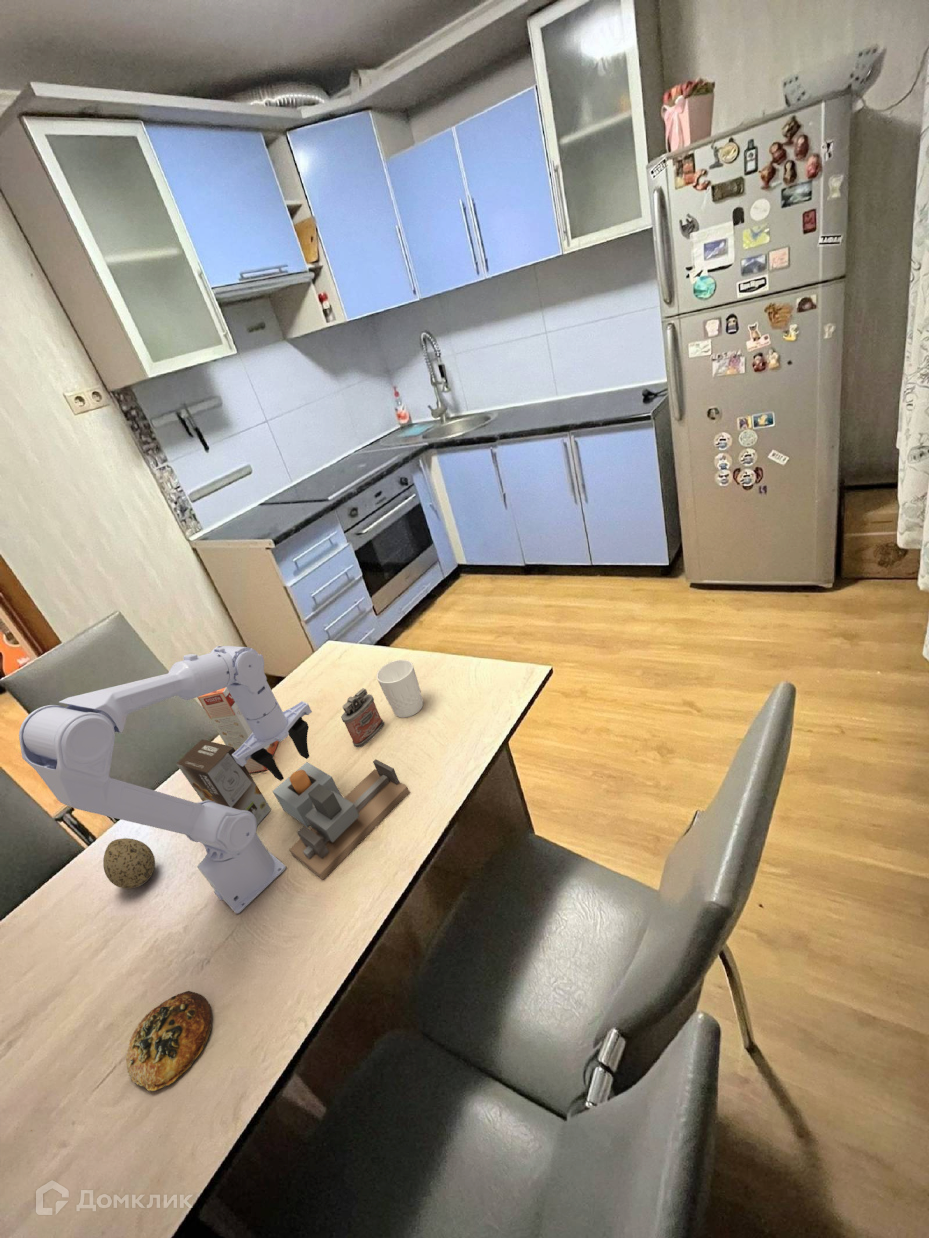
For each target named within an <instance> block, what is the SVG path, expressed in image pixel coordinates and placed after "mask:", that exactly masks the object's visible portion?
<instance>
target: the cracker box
mask: <svg viewBox="0 0 929 1238" xmlns="http://www.w3.org/2000/svg"><path fill="white" fill-rule="evenodd" d="M196 698H197V699H198V701H199V703H200V705H201V706H202V708H203V709H204V711H205V713H206V714H207V716H208V718H209V720H210V721H211V723H212V725H213V726H214V728H215V730H216V731H217V733H218V734H219V736H220V738H221V740H222V741H223V743H224V745H227V746H231V747H234V749H235V751H237V750H238V749H239V748H240V747H241V746H242V744H243V743H244V742H245V741H246V740H247V739H248V738H249V736H250V735H251V734H252V733H253V732H252V731H251V729H250V727H249V725H248V724H247V722H246V720H245V719H244V717H243V715H242V713H241V711H240V710H239V708H238V706H237V704H236V703H235V701H234V699H233V698H232V696H231V694H230V692H229V691H228V689H227V687H225V688H222V689H220V690H217V691H214V692H211V693H208V694H205V695H202V696H199V697H196ZM279 742H280V741H275V742H273V743H271V744H269V745H268V746H266V747H264V749H266V750H267V752H269V753H270V754H272V755H273V756H274V755H275V752H276V750H277V747H278V745H279ZM245 767H246V769H247V770H248V772H249V773H250V774H252V773H256V772H261V771H262V772H263V771H268V769H267V768H266V767H264V766H262V765H261V764H259V763H257V762H256V761H254V760H253V759H251V758H249V759H248V760H247V764H245Z"/></svg>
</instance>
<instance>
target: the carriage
mask: <svg viewBox="0 0 929 1238" xmlns="http://www.w3.org/2000/svg"><path fill="white" fill-rule="evenodd" d="M308 795H309V797H310V799H311V801H312V803H313V804H314V806H315V807H314V808H313V809H312V810H311V811H309V812H308V813H307V814H306V815H305V817H306V819H307V820H308V822H309V824H310V825H309V826H310V827H311V828H313V829H314V830H316V831H317V832H319V833H320V834H321V835H323V836H324V837H325V838H327V839H328V840H330V841H331V842H332V843H333V842H334V841H335V840H336V839H337V838H338V837H339V836H340V835H341V834H342V833H343V832H344V831H345V830H346V829H347V828H348V827H349V826H350V825H351V824H352V823H353V822H354V821H355V820H356V819H357V818H358V817H359V816H360V815H359V813H358V811H357V809H356V807H355V805H354V804H353V803H352V802H350V801H348V800H347V799H345V798H344V797H343V796H342V795H341V796H340V795H339V794H337V793H335V792H334V791H330V790H328V789H327V788H325V787H323V786H322V785H320V784H318V785H317V786H316V787H315V788H314V789H313V790H312V791H310V792H309V793H308Z"/></svg>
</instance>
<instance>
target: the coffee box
mask: <svg viewBox="0 0 929 1238" xmlns="http://www.w3.org/2000/svg"><path fill="white" fill-rule="evenodd" d="M234 752H235V749H234V747H231V746H227V745H225V744H223V743H219V742H214V741H210V740H206V739H201V740H200V741H199V742H198V743H196V744H195V745H194V746H193V747H191V749H189V750H188V751H187V752H186V753H185V754H184V756H182V758H180V759H179V760H178V761H177V762H176V766H177V767H178V769H179V770H180V771H181V773H182V774H183V776H184V777H185V778H186V780H187V782H188V783H189V784H190V786H191V787H192V788H193V790H194V791H195V792H196V794H197V796H198V797H199V798H200V800H201V802H202V801H206V800H210V801H213V802H215V803H217V804H220V805H224V806H228V807H231V808H235V809H238V810H245V811H249V812H251V813H252V814H253V815H254V816H255V818H256V822H257V826H258V825H260V823H261V822H262V821H263V819H265V817H266V816H267V815H268V814H269V813H270V811H271V810H272V808H271V806H270V805H269V803H268V801H267V800H266V798H265V797H264V794H263V793H262V792H261V790H260V788H259V786H258V785H257V782H255V780H254V778H253V777H252V775H251V773H249V772H248V770H247V769H246V767H245V765H244V766H243V767H242V766H240V765H239V764H238V763H236V761H235V759H234V758H233V756H232V754H233V753H234Z"/></svg>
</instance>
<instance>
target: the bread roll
mask: <svg viewBox="0 0 929 1238" xmlns="http://www.w3.org/2000/svg"><path fill="white" fill-rule="evenodd" d="M212 1017H213V1015H212V1008H211V1005H210V1003H209V1001H208V999H207V998H205V996H204V995H202V994H200V993H197V992H193V991H190V990H187V991H185V992H181V993H178V994H175V995H174V996H172V997H170V998H168V999H167V1000H165V1001H163V1002H161V1003H160V1004H159V1005H157V1006H156V1007H154V1008H153V1009H152V1010H150V1012H148V1013H147V1014H146V1015H145V1016H144V1017H143V1018H142V1020H141V1021H140V1022H139V1023H138V1024H137V1026H136V1028H135V1029H134V1030H133V1033H132V1034H131V1036H130V1039H129V1043H128V1046H127V1050H126V1056H125V1063H126V1071H127V1072H126V1073H128V1076H129V1077H131V1081H132V1082H133V1083H135V1084H136V1085H137V1086H139V1087H144V1088H145V1089H146V1090H147V1091H148V1092H149V1091H151V1092H154V1091H157V1090H159V1089H162V1088H164V1087H166V1086H170V1085H172V1084H173V1083H174V1082H175V1081H176V1080H178V1078H180V1077H181V1076H182V1075H183V1074H184V1073H185V1072H186V1071H188V1069H190V1068H191V1066H192V1065H193V1064H194V1063H195V1061H196V1060H197V1058H198V1057H199V1056H200V1054H201V1053H202V1051H203V1050H204V1049H205V1047H206V1044H207V1042H208V1040H209V1037H210V1033H211V1032H212V1019H213V1018H212Z"/></svg>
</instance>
